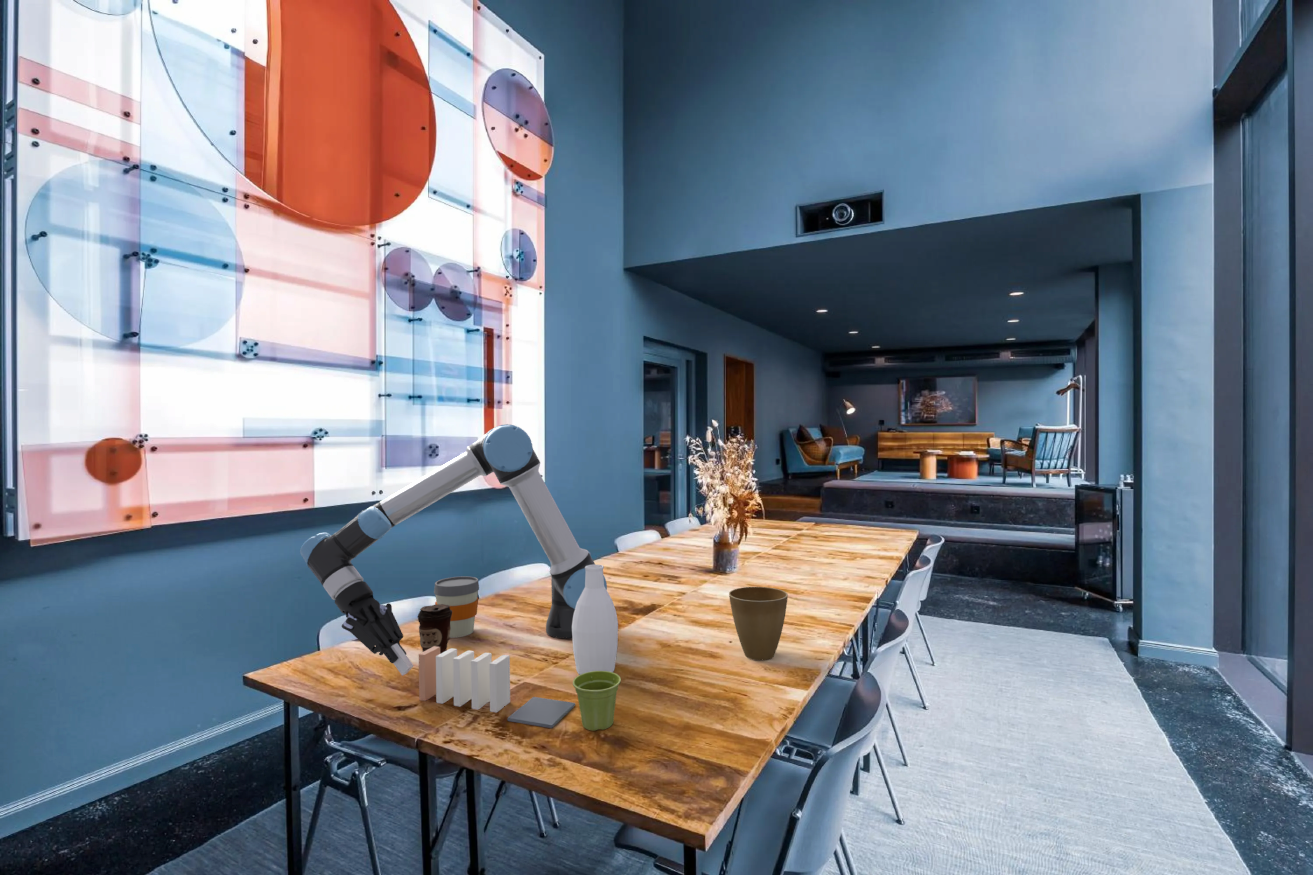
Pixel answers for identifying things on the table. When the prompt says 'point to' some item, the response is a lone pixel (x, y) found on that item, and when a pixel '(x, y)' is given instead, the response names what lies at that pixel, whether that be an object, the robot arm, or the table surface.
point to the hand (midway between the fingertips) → (408, 670)
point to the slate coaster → (541, 712)
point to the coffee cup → (434, 626)
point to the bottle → (594, 625)
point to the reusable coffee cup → (459, 602)
